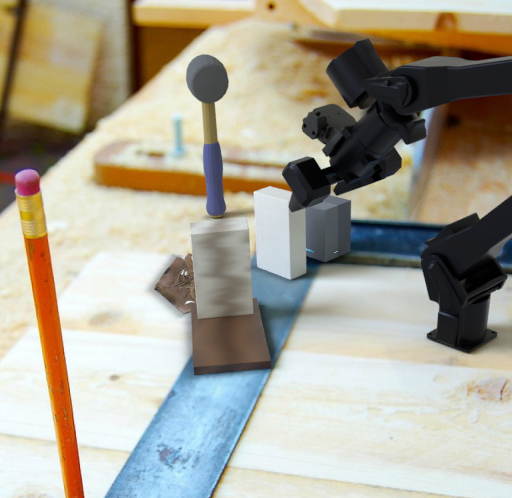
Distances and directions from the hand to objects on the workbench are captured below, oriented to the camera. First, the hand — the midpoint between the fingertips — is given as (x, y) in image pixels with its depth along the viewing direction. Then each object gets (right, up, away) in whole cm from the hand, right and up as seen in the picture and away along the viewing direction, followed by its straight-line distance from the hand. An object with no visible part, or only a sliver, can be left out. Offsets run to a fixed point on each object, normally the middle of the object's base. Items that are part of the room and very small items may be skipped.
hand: (313, 201), depth 114 cm
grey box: (+5, -5, +16) cm, 18 cm away
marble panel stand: (-13, -20, -6) cm, 25 cm away
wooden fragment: (-18, -11, +14) cm, 25 cm away
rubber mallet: (-11, +5, +39) cm, 40 cm away
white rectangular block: (-3, -9, +12) cm, 15 cm away
